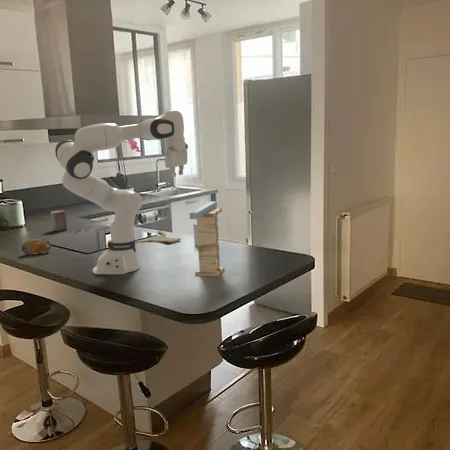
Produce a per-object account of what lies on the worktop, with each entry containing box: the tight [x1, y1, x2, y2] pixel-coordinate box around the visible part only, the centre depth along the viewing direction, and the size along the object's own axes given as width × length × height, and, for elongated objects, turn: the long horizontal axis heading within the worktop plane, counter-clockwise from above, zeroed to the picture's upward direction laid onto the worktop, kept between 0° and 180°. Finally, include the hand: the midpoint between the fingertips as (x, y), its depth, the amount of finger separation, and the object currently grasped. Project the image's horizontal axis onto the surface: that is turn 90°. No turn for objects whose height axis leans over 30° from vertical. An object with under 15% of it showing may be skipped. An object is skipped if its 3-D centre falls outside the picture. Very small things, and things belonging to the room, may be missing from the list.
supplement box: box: [193, 222, 198, 247], centre depth 266 cm, size 7×7×13 cm
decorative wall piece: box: [136, 230, 182, 244], centre depth 285 cm, size 30×3×30 cm
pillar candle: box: [49, 209, 68, 232], centre depth 324 cm, size 10×10×15 cm
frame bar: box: [189, 201, 218, 220], centre depth 205 cm, size 30×3×2 cm, turn 165°
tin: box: [21, 238, 51, 255], centre depth 262 cm, size 15×3×8 cm, turn 109°
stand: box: [194, 207, 225, 277], centre depth 212 cm, size 14×11×29 cm
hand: (177, 175), depth 219 cm, fingers open, 8 cm apart
